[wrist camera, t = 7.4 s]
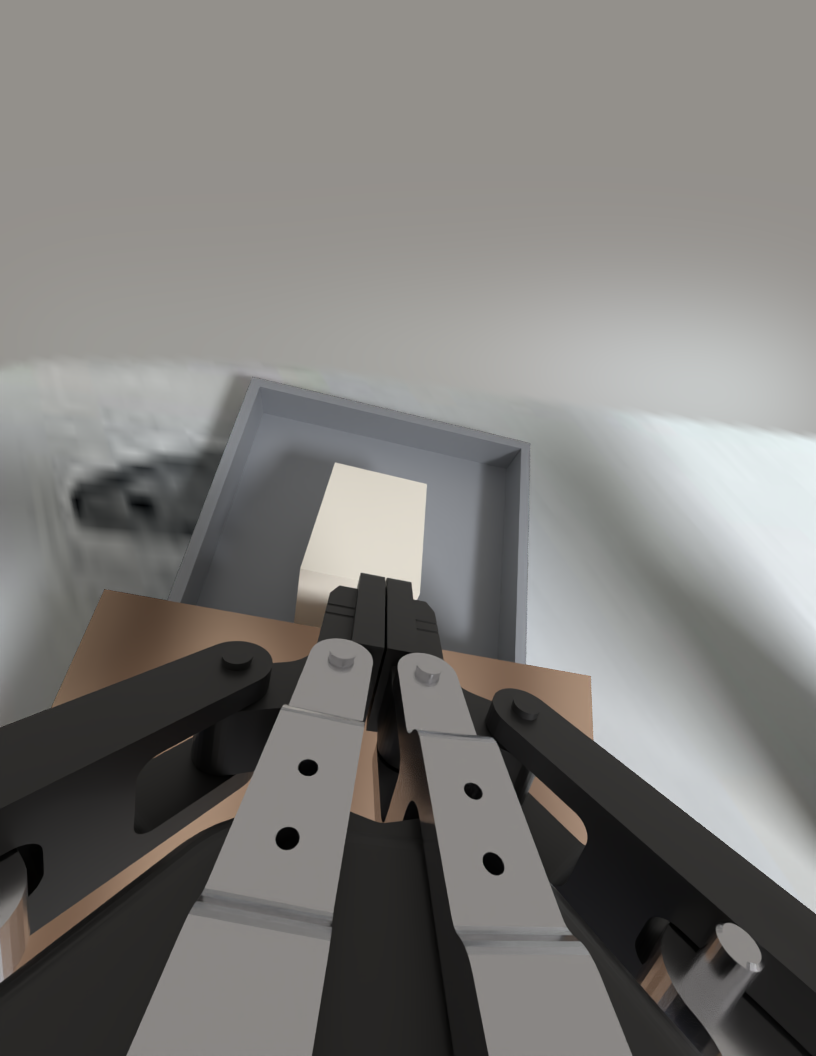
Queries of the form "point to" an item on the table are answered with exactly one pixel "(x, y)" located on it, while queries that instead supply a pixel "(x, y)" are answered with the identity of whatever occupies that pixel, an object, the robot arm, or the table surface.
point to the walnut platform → (182, 629)
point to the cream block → (361, 537)
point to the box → (381, 446)
